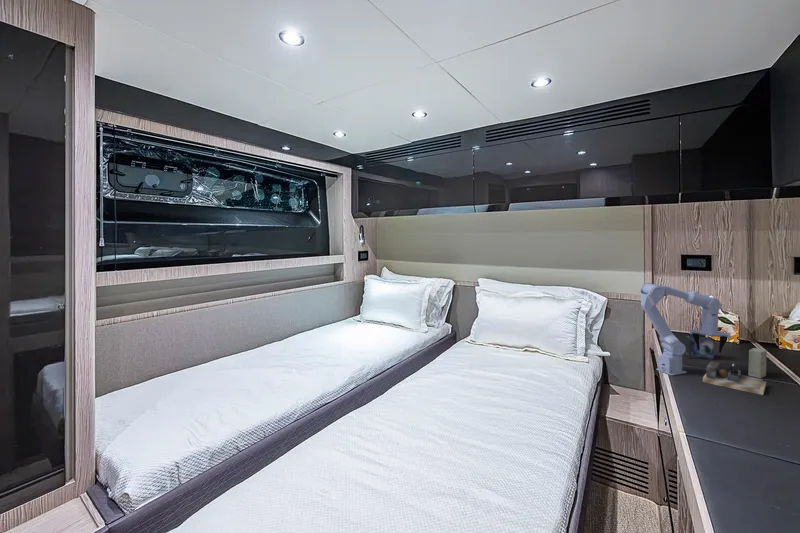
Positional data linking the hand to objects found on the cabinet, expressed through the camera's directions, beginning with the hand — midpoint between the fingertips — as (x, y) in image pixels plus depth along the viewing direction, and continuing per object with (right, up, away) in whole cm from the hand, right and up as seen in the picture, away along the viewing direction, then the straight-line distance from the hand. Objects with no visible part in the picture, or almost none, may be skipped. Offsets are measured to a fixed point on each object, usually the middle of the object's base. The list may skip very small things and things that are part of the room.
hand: (709, 350), depth 169 cm
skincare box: (+17, -10, -5) cm, 21 cm away
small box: (+12, -9, +20) cm, 25 cm away
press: (0, -12, -13) cm, 17 cm away
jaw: (0, -9, -13) cm, 16 cm away
